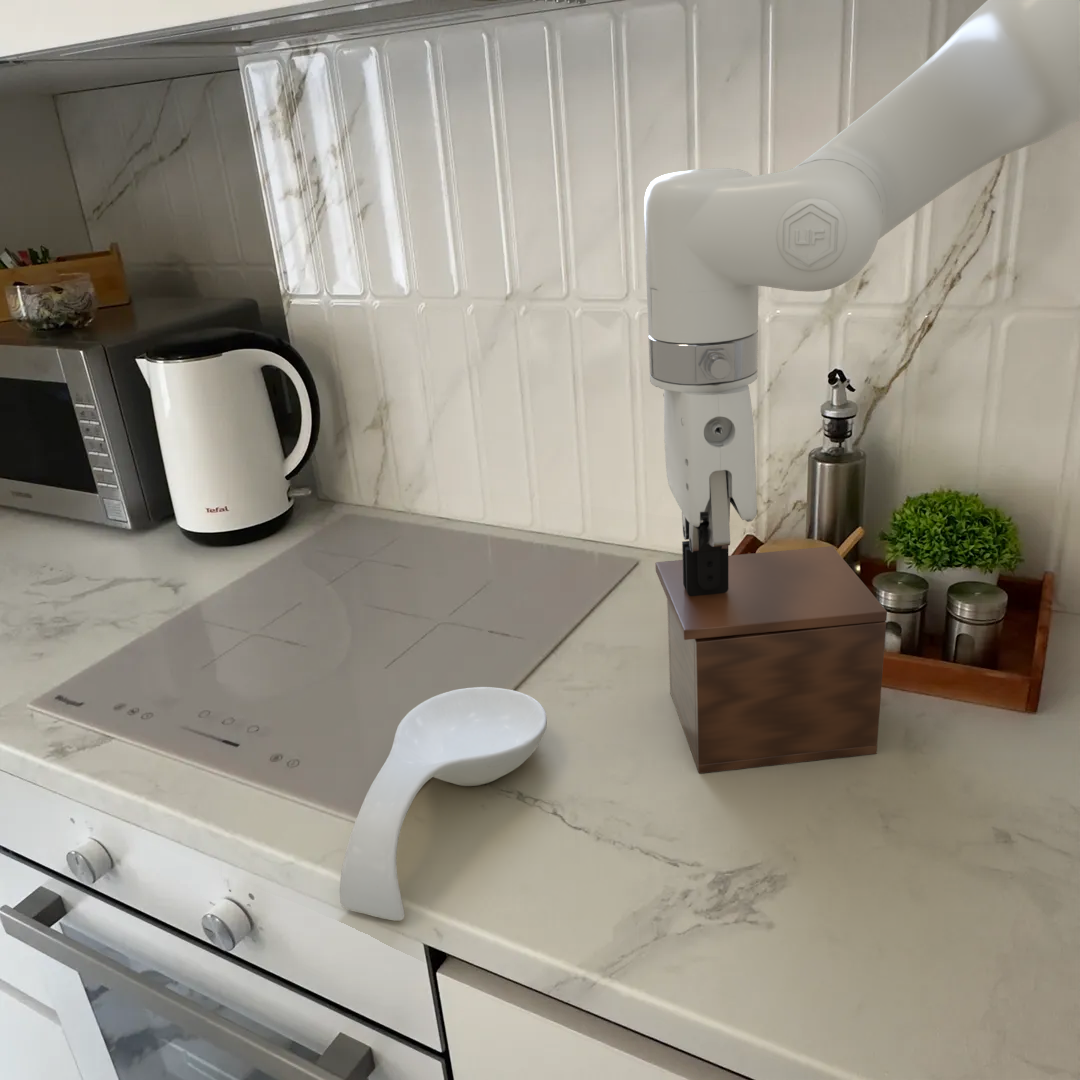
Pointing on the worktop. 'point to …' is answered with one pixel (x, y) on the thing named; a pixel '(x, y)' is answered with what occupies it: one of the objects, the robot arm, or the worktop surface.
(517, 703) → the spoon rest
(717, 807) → the worktop surface
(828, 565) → the lid
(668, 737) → the worktop surface
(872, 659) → the box
